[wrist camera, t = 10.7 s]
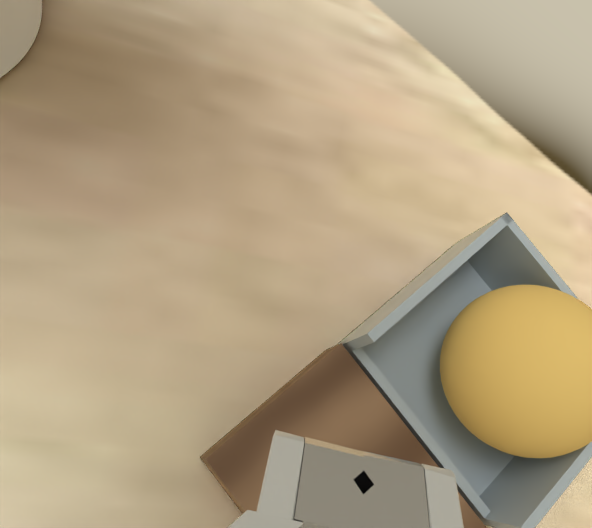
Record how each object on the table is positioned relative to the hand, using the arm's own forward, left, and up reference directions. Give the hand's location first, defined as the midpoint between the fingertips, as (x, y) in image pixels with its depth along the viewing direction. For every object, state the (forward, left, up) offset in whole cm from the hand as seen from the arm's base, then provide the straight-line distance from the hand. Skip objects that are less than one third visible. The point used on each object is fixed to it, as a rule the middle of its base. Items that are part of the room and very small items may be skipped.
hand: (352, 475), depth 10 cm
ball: (+9, +17, -20) cm, 27 cm away
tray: (+8, +16, -25) cm, 31 cm away
